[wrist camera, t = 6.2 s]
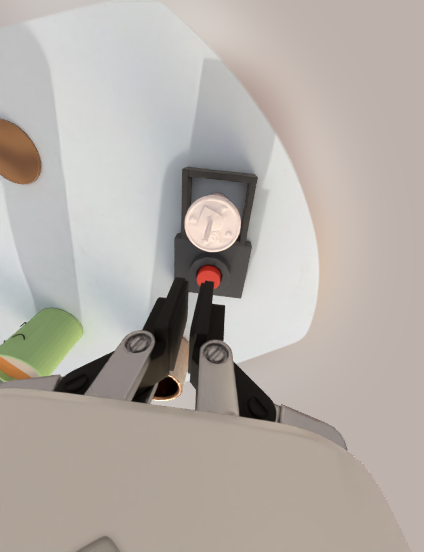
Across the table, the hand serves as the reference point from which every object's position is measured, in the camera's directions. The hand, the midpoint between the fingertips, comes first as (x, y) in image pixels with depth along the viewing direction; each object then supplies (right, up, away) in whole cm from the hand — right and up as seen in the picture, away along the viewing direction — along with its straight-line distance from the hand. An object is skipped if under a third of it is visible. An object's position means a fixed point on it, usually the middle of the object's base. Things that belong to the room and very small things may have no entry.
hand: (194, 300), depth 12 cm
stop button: (+1, +2, +22) cm, 22 cm away
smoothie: (+2, +12, +20) cm, 23 cm away
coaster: (-28, +19, +18) cm, 38 cm away
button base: (+1, +3, +25) cm, 25 cm away
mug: (-35, -10, +37) cm, 51 cm away
